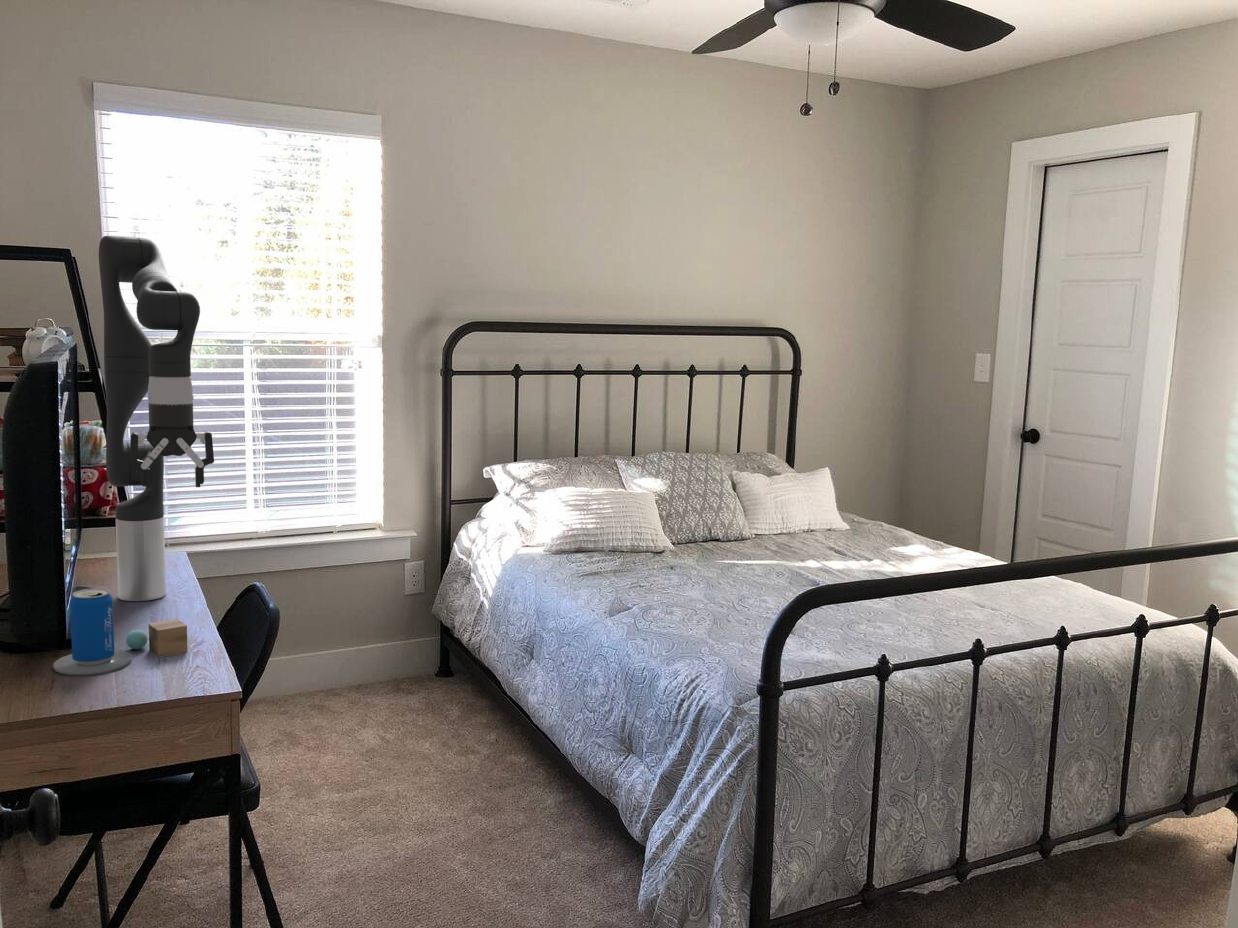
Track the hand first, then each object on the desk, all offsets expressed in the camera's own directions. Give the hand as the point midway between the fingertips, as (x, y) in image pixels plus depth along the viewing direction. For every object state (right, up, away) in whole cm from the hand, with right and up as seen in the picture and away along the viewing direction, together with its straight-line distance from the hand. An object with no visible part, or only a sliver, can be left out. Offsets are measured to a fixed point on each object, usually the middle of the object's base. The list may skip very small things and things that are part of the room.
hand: (173, 487), depth 188 cm
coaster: (-8, -30, -14) cm, 34 cm away
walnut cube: (+2, -29, -6) cm, 30 cm away
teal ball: (-4, -27, -6) cm, 28 cm away
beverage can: (-8, -30, -14) cm, 34 cm away
